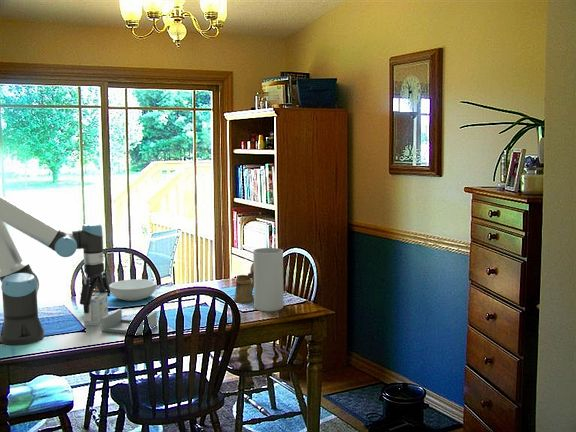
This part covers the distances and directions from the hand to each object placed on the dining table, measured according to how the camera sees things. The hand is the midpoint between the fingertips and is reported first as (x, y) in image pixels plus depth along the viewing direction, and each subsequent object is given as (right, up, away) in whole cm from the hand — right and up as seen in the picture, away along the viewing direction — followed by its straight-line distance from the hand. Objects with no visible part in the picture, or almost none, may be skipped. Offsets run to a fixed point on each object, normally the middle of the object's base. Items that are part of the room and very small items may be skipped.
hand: (96, 316), depth 266 cm
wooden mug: (+59, +2, +33) cm, 67 cm away
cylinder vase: (+68, +1, +19) cm, 71 cm away
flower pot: (-6, -1, +14) cm, 15 cm away
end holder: (+16, -3, -10) cm, 19 cm away
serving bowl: (+6, +2, +37) cm, 37 cm away
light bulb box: (0, -2, 0) cm, 2 cm away
